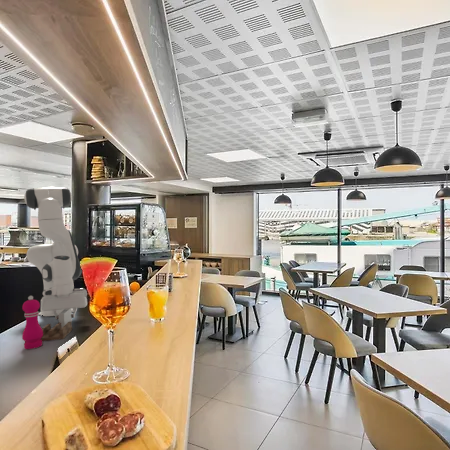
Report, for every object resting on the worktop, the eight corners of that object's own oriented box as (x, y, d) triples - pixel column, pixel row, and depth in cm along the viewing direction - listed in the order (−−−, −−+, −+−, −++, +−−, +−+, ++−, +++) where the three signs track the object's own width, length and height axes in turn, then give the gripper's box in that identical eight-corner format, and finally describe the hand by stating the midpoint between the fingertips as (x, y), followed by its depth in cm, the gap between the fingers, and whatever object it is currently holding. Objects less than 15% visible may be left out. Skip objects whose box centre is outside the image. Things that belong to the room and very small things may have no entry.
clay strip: (66, 322, 170) (66, 308, 170) (71, 321, 170) (71, 307, 170) (59, 329, 158) (58, 314, 158) (64, 328, 158) (63, 313, 158)
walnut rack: (37, 332, 154) (37, 324, 154) (72, 329, 156) (72, 321, 156) (24, 343, 140) (24, 333, 140) (63, 338, 142) (62, 330, 142)
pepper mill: (20, 350, 130) (17, 298, 131) (25, 344, 137) (23, 295, 138) (41, 348, 132) (38, 296, 132) (45, 342, 139) (42, 293, 139)
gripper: (88, 286, 169) (89, 314, 169) (43, 290, 166) (45, 318, 166) (84, 288, 163) (86, 317, 163) (38, 292, 159) (40, 322, 159)
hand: (65, 318), depth 164 cm, fingers open, 5 cm apart
